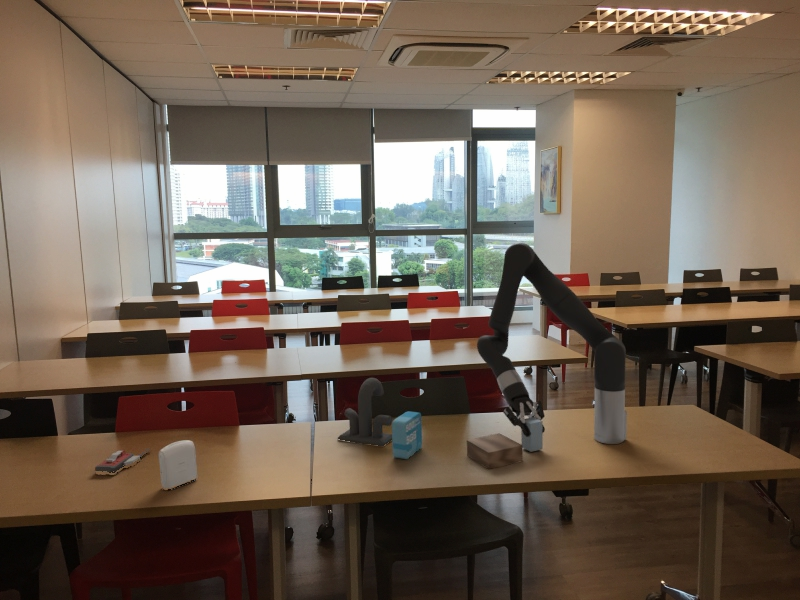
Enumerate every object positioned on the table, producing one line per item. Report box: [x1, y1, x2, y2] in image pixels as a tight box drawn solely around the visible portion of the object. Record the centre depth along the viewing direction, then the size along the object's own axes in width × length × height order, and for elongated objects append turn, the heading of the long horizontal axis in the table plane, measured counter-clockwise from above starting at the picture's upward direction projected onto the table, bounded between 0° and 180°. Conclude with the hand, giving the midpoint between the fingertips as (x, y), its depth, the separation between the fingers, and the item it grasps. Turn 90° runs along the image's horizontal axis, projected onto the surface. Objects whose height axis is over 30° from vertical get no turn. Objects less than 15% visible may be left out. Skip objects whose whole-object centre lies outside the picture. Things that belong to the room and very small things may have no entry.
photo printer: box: [158, 439, 198, 488], centre depth 176 cm, size 10×4×12 cm, turn 140°
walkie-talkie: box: [94, 447, 151, 473], centre depth 193 cm, size 9×4×20 cm
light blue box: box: [391, 411, 423, 460], centre depth 194 cm, size 12×4×12 cm, turn 153°
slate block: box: [520, 416, 544, 453], centre depth 194 cm, size 5×5×9 cm
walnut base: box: [466, 432, 524, 470], centre depth 188 cm, size 12×12×5 cm
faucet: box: [337, 377, 393, 447], centre depth 210 cm, size 18×16×20 cm
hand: (535, 433), depth 192 cm, fingers closed on slate block, 4 cm apart
